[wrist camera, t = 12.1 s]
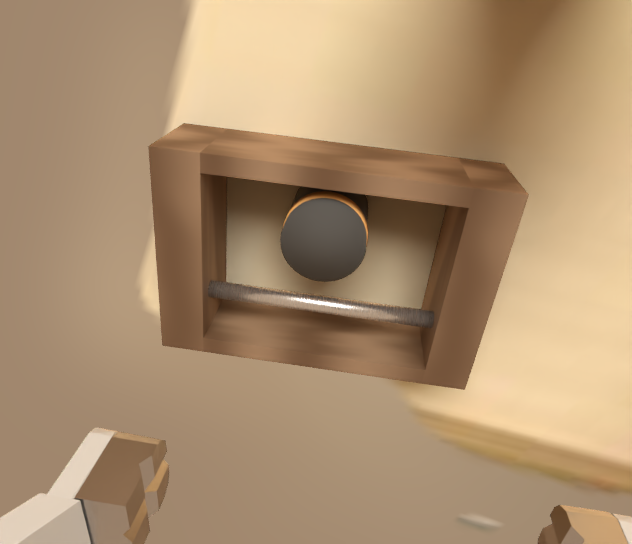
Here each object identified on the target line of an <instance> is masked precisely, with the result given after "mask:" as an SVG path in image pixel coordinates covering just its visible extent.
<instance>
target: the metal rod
mask: <svg viewBox="0 0 632 544" xmlns="http://www.w3.org/2000/svg"><path fill="white" fill-rule="evenodd" d="M208 297H212V298H219V299H226V300H233V301H241V302H248V303H255V304H262V305H269V306H276V307H283V308H290V309H297V310H304V311H311V312H318V313H325V314H332V315H340V316H347V317H354V318H361V319H368V320H375V321H382V322H389V323H396V324H403V325H410V326H417V327H424V328H432V326H433V322H434V312H433V311H428V310H421V309H414V308H407V307H400V306H393V305H386V304H378V303H371V302H364V301H357V300H350V299H343V298H335V297H328V296H321V295H314V294H307V293H300V292H293V291H285V290H278V289H271V288H264V287H257V286H250V285H242V284H235V283H228V282H221V281H214V280H211V281H210V283H209V287H208Z"/></svg>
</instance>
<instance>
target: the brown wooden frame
mask: <svg viewBox="0 0 632 544" xmlns="http://www.w3.org/2000/svg"><path fill="white" fill-rule="evenodd" d="M149 158H150V159H149V160H150V173H151V189H152V203H153V217H154V232H155V246H156V260H157V274H158V289H159V303H160V317H161V332H162V345H163V346H170V347H177V348H184V349H191V350H197V351H204V352H211V353H217V354H225V355H231V356H238V357H246V358H252V359H259V360H265V361H272V362H279V363H286V364H293V365H299V366H306V367H313V368H320V369H327V370H334V371H341V372H347V373H355V374H361V375H368V376H375V377H381V378H388V379H395V380H402V381H409V382H416V383H422V384H429V385H436V386H443V387H450V388H457V389H463V390H465V387H466V384H467V381H468V378H469V375H470V372H471V369H472V366H473V363H474V360H475V357H476V354H477V351H478V348H479V345H480V342H481V339H482V336H483V333H484V330H485V326H486V323H487V320H488V317H489V314H490V311H491V308H492V305H493V302H494V299H495V296H496V293H497V290H498V287H499V284H500V281H501V278H502V275H503V272H504V269H505V266H506V263H507V260H508V257H509V253H510V250H511V247H512V244H513V241H514V238H515V235H516V232H517V229H518V226H519V223H520V220H521V217H522V214H523V211H524V208H525V205H526V202H527V199H528V196H529V195H528V193H527V192H526V191H525V190H524V188H523V187H522V186H521V185H520V183H519V182H518V181H517V180H516V178H515V177H514V176H513V175H512V173H511V172H510V171H509V169H508V168H507V167H506V166H505V164H502V163H494V162H486V161H478V160H470V159H462V158H454V157H446V156H439V155H431V154H423V153H415V152H407V151H399V150H391V149H383V148H375V147H367V146H359V145H351V144H343V143H335V142H327V141H319V140H312V139H304V138H296V137H288V136H280V135H272V134H264V133H256V132H248V131H240V130H232V129H224V128H216V127H208V126H200V125H192V124H185V123H184V124H182V125H181V126H179V127H178V128H176V129H175V130H173V131H171V132H170V133H168V134H167V135H165V136H164V137H162V138H161V139H159V140H158V141H156V142H154V143H153V144H151V145H150V146H149ZM227 177H234V178H242V179H250V180H257V181H265V182H273V183H280V184H288V185H296V186H303V187H311V188H319V189H326V190H334V191H342V192H349V193H357V194H365V195H372V196H380V197H388V198H395V199H403V200H411V201H418V202H426V203H434V204H441V205H447V207H446V211H445V215H444V219H443V223H442V227H441V231H440V235H439V239H438V243H437V247H436V252H435V256H434V260H433V264H432V268H431V272H430V276H429V280H428V284H427V288H426V292H425V296H424V301H423V305H422V309H421V310H428V311H433V312H434V322H433V326H432V328H424V327H417V326H410V325H403V324H396V323H389V322H382V321H375V320H368V319H361V318H354V317H347V316H340V315H332V314H325V313H318V312H311V311H304V310H297V309H290V308H283V307H276V306H269V305H262V304H255V303H248V302H241V301H233V300H226V299H219V298H212V297H208V287H209V283H210V281H211V280H214V281H221V282H226V220H227Z"/></svg>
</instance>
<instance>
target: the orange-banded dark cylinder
mask: <svg viewBox="0 0 632 544" xmlns="http://www.w3.org/2000/svg"><path fill="white" fill-rule="evenodd" d="M367 219H368V202H367V198H366V195H365V194H357V193H349V192H342V191H334V190H326V189H319V188H311V187H303V186H301V187H300V188H299V190H298V192H297V194H296V197H295V199H294V202H293V204H292V207H291V209H290V210H289V212H288V214H287V217H286V219H285V221H284V225H283V229H282V232H281V239H280V242H281V250H282V253H283V255H284V257H285V259H286V261H287V262H288V264H289V265H290V266H291V267H292V268H293V269H294V270H295V271H296V272H298V273H299V274H300V275H302V276H304V277H306V278H309V279H312V280H316V281H324V282H326V281H335V280H339V279H342V278H344V277H346V276H348V275H350V274H351V273H352V272H354V271H355V270H356V269H357V268H358V266H359V265H360V264H361V262H362V260H363V258H364V256H365V252H366V246H367V240H368V226H367Z"/></svg>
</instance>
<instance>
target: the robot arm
mask: <svg viewBox="0 0 632 544" xmlns="http://www.w3.org/2000/svg"><path fill="white" fill-rule="evenodd" d="M166 452H167V448H166V441H165V440H160V439H155V438H149V437H144V436H139V435H134V434H129V433H124V432H119V431H113V430H107V429H101V428H94V429H93V430H92V431H91V432H90V433H88V435H87V436H86V437H85V439H84V440H83V442H82V443H81V445H80V446H79V448H78V449H77V451H76V452H75V454H74V455H73V457H72V458H71V459H70V461H69V462H68V464H67V466H66V467H65V468H64V470H63V471H62V473H61V474H60V476H59V477H58V479H57V480H56V481H55V483H54V484H53V486H52V487H51V489H50V490H49V492H48V493H47V494H43V493H39V494H38V495H36V496H34V497H33V498H31V499H30V500H28V501H27V502H25V503H23V504H22V505H20V506H18V507H17V508H15V509H13V510H12V511H10V512H9V513H7V514H5V515H4V516H2V517H1V518H0V544H144V543H145V540H146V538H147V536H148V534H149V531H150V527H149V520H148V518H149V517H151V516H152V515H153V514H155V513H156V512H157V511H159V509H160V506H161V504H162V502H163V499H164V497H165V493H166V489H167V486H168V480H169V465H168V464H167V463H166V462H165V461H164V460H163V459H164V457H165V454H166ZM550 517H551V520H552V524H551V525H549V526H547V527H545V528H543V529H542V531H541V533H540V536H539V538H538V544H632V516H625V515H619V514H612V513H608V512H605V511H598V510H591V509H585V508H578V507H571V506H565V505H558V506H556V507H554V509H553V511H552V512H551V514H550Z"/></svg>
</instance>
